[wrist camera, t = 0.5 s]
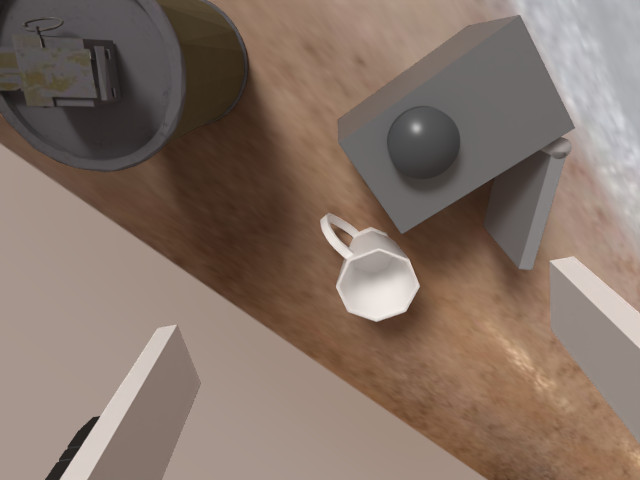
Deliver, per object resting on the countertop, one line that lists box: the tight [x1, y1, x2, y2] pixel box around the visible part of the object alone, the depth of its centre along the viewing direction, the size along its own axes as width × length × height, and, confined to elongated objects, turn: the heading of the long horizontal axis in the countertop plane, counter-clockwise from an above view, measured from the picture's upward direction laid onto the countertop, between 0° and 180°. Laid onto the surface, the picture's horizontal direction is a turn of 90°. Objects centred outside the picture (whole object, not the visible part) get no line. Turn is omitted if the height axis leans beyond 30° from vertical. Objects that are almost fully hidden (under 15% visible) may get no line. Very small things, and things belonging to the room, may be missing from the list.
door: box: [483, 137, 571, 270], centre depth 36 cm, size 2×10×9 cm, turn 176°
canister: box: [0, 0, 247, 172], centre depth 29 cm, size 11×10×20 cm
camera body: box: [338, 15, 575, 234], centre depth 33 cm, size 8×13×12 cm, turn 126°
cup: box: [320, 213, 420, 322], centre depth 40 cm, size 7×10×8 cm
